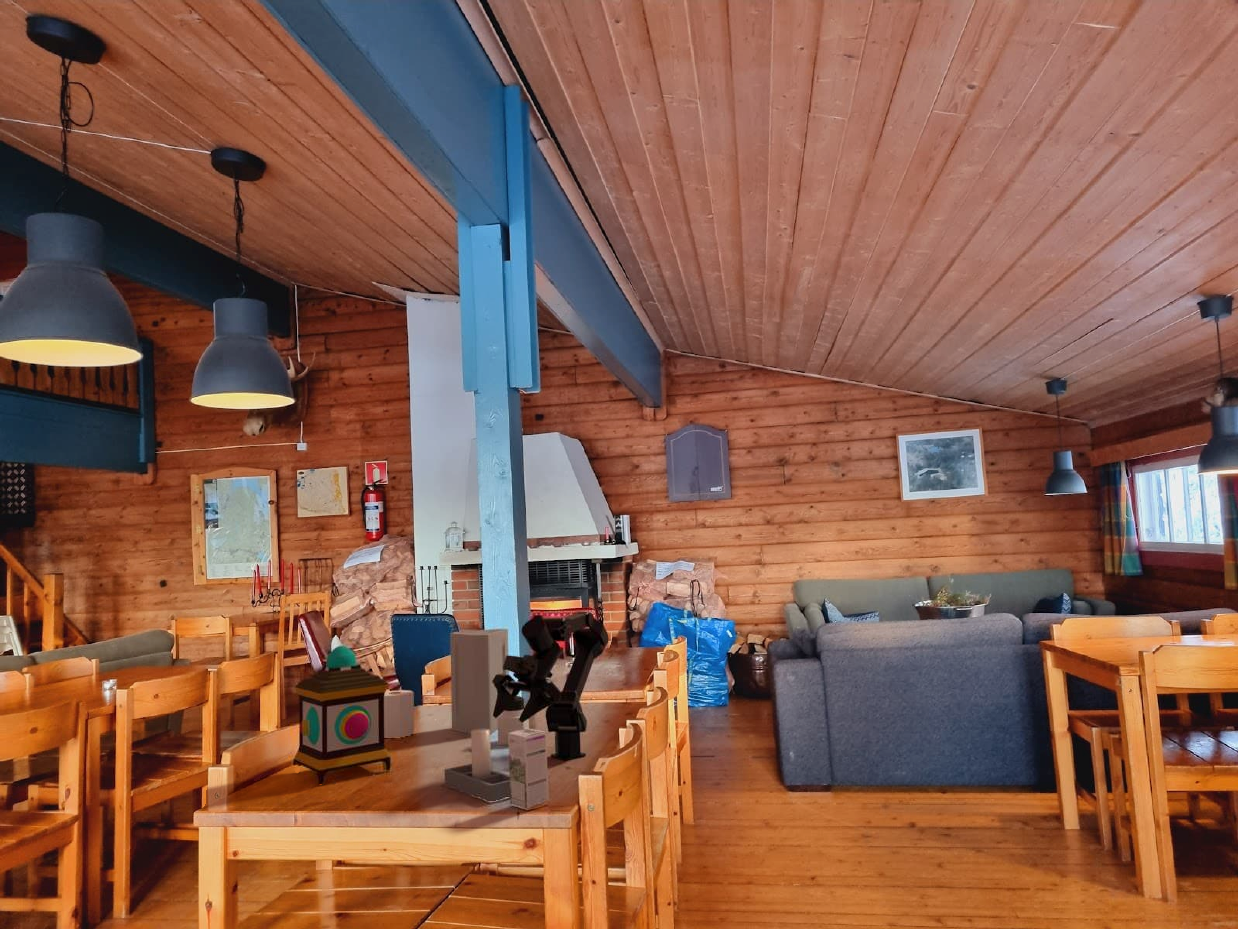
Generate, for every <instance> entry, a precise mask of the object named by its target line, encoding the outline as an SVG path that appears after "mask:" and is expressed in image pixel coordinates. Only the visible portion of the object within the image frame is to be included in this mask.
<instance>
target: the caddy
mask: <svg viewBox="0 0 1238 929" xmlns="http://www.w3.org/2000/svg"><path fill="white" fill-rule="evenodd" d="M445 785H446V786H445ZM444 786H445V787H447V786H448V787H447V788H449V787H452V788H454V789H456V790H455V791H457V790H460V791H462V792H464V793H463V794H465V793H466V795H467V794H470V795H473V796H475V797H480V798H482V799H485V800H487V801H496V800H500V799H503V798H505V797H510V774H507V773H503V772H501V771H497V770H495V769H491V776H487V777H482V778H478V779H476V778H473V777H472V763H469V764H464V765H459V766H455V767H450V768H446V769H444ZM452 788H451V789H452ZM454 789H453V790H454ZM460 791H459V792H460ZM462 792H461V793H462ZM470 795H469V796H470ZM473 796H472V797H473ZM475 797H474V798H475Z"/></svg>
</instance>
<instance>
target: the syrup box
mask: <svg viewBox="0 0 1238 929" xmlns="http://www.w3.org/2000/svg"><path fill="white" fill-rule="evenodd" d="M508 743H509V745H508V766H509V768H508V770H509V772H508V773H509V774H508V775H510V799H509V801H510V805H511V804H514V805H516V806H520V807H523V808H530V807H532V806H534V805H536V804H541V803H543V802H545V801H549V785H548V783H549V781H548V755H547V754H548V753H547V751H548V749H547V732H546V731H543V730H538V729H533V728H529V729H522V730H517V731H514V732H511V733H508ZM549 802H550V801H549Z"/></svg>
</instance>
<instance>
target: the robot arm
mask: <svg viewBox="0 0 1238 929" xmlns="http://www.w3.org/2000/svg"><path fill="white" fill-rule="evenodd" d="M521 634H522V636H523V638H524V639H525V641H526V643H527V644H528V645H527V646H529V648H530V650H531V651H533V653H532V655H531V654H524V655H523V656H517V655H509V654H508V655H507V656H506V659H505V662H504V665H503V669H504V670H509V672H511V673H513V674H512V676H513V677H514V678H515V679H517V681H516V680H515V679H514V678H513V677H512V676H511V675H510V674H509V675H507V674H497V675H496V676H495V677H494V679H493V680H492V683H493V684H494V687H495V688H496V689H497V699H496V704H495V708H494V712H493V716H494V717H495V718H497V717H498V716H499V715H500V714H502V712H503V711H504V710H505V709H506V708H507V707H508V706H509V705H510V704H511V703H512V702H513V701H514V700H515V698H514V697H515V696H519V693H520V692H528V693H529V699H528V701H527V702H526V704H525V705H524V710H523V712H522V713H521V716H520V718H519V721H520V722H524V721H526V720H527V719H530V718H532V717H533V716H534V715H536V714H538V713H539V712H541V711H542V710H544V709H545V721H546V726H547V731H548V733H551V732H553V733H554V748H555V750H554V751H555V753H551V754H550V757H552V758H556V759H560V760H563V761H568V760H571V759H572V760H573V759H577V758H581V757H585V756H586V753H585V752H582V750H581V748H582V747H581V733H585V732H586V731H587V727H588V725H587V724H588V720H587V718H586V716H585V714H584V712H583V707H582V705H581V702H580V699H581V698H582V697H581V696H582V694H583V691H584V688H585V685H586V683H587V681H588V678H589V675H590V673H591V672H590V671H591V669H592V666H593V664H594V662H595V661H594V660H596V659H597V658H598V657H600V656H601V655H602V654H603V653H604V651H605V649H606V647H607V645H609V633H608V631H607V629H606V627H605V625H604V624H603V623H602V622H601V621H599V620H598V619H596V618H595V616H594V614H593V613H592V612H590V611H575V612H572V614H570V615H567V616H564V617H543V615H541V614H539V615H538V614H536V615H535V614H534V615H533V617H532V618H531V619H529V620H528V621H526V622H525V623H524V624H523V626H522V627H521ZM570 638H572V639H573V640H574V642H575V646H576V648H577V652H576V654H575V657H574V660H573V662H572V665H571V668H570V669H569V672H568V675H567V678H566V681H565V682H564V686H563V688H562V691H561V689H559V687H557V685H556V684H555V683H554V682H553V680H551V678H552V677H553V675H554V674H553V672H551V671H552V669H554V668H553V667H555V665H556V662H557V661H558V660H559V659H560V660H564V659H565V653H564V647H561V646H560V644H559V643H558V642H567V641H569V639H570ZM548 678H549V679H548Z"/></svg>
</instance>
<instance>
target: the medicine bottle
mask: <svg viewBox="0 0 1238 929" xmlns="http://www.w3.org/2000/svg"><path fill="white" fill-rule="evenodd" d="M514 698H515V700H514V701H513V702H512V703H511V704H510V705H509V706H508V707H507V708H506V709H505V710H504V711H503V712H502V713H503V715H501V716H500V717H499V718H498V731H497V745H499V746H509V743H508V733H511V732H514V731H517V730H522V729H530V720H529V719H530V718H529V719H527V720H526V721H524V722H520V721H519V718H520V716H521V713H522V712H523V710H524V708H525V698H524V697H523V696H520V695H517V696H515V697H514Z"/></svg>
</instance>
